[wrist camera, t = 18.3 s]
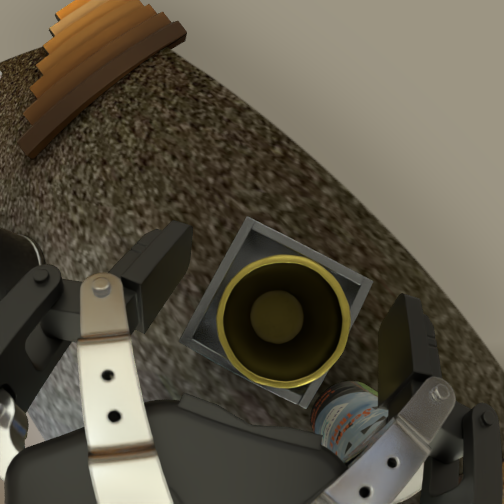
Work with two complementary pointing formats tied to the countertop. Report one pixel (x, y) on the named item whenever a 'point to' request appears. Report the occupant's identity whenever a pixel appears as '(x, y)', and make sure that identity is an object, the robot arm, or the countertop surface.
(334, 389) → the beverage can
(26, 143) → the pan flute
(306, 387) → the gray open box
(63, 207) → the countertop surface
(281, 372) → the vase
